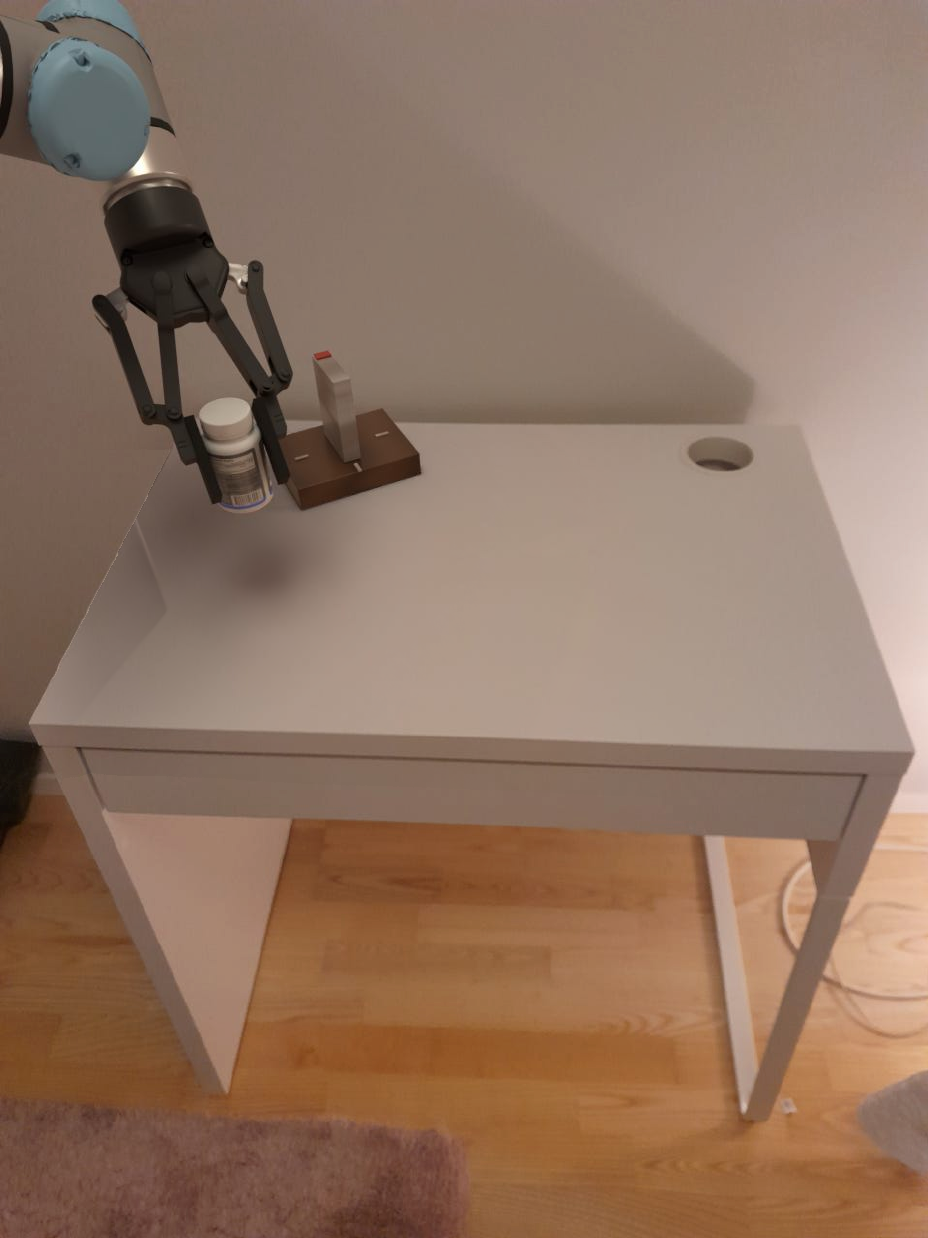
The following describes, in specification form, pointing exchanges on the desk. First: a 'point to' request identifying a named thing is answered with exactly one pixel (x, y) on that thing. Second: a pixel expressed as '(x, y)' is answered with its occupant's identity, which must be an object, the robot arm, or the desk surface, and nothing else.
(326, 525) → the desk surface
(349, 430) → the red-topped gray slab
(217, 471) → the pill bottle
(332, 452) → the panel
